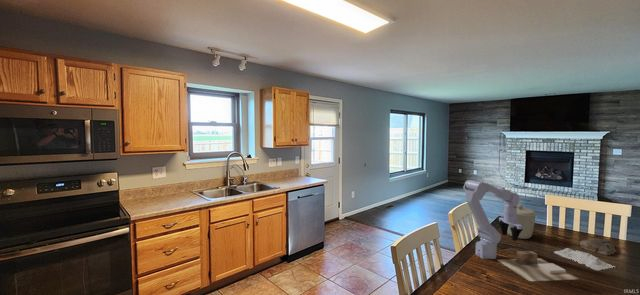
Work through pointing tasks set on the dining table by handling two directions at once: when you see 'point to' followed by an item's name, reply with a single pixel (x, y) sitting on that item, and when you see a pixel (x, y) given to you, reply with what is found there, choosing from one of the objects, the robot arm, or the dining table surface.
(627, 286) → the dining table surface
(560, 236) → the cleaver
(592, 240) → the clay tablet
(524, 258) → the brown rectangular block
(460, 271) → the dining table surface
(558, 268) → the tile
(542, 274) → the board
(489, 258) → the robot arm
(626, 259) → the dining table surface
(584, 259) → the terrain model
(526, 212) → the canister
